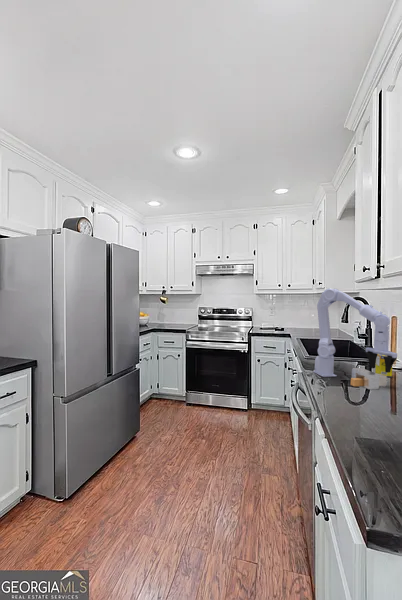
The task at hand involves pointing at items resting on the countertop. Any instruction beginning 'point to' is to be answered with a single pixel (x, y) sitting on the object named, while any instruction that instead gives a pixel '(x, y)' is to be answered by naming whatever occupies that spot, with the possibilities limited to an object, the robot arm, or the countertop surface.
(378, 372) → the supplement box
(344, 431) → the countertop surface
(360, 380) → the plug
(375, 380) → the housing
